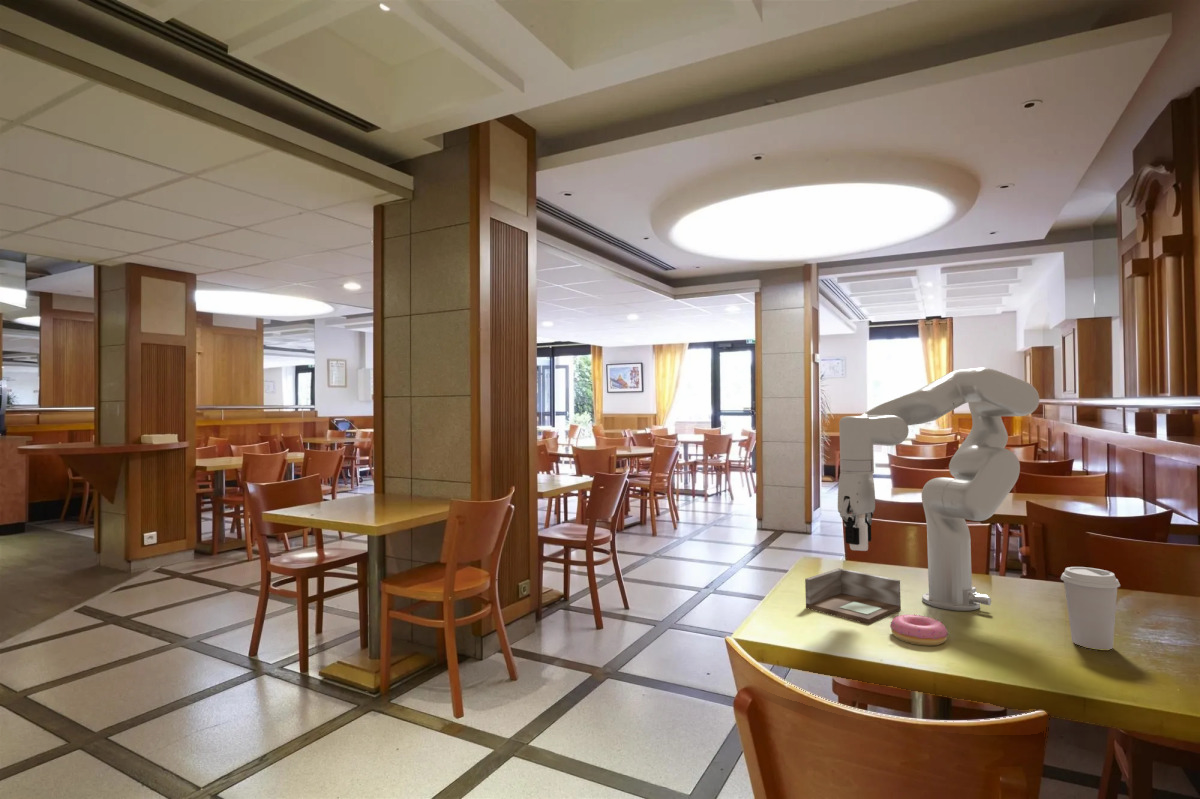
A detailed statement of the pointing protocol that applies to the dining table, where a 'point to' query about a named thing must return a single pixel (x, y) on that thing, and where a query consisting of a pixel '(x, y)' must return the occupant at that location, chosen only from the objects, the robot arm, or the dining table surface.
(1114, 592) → the coffee cup
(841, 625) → the dining table surface
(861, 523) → the salt shaker
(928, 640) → the doughnut
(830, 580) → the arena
